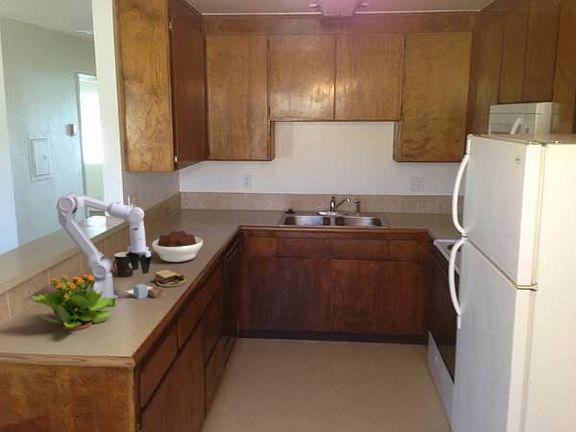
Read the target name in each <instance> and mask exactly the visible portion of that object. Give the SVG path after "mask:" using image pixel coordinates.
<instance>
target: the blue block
mask: <svg viewBox="0 0 576 432" xmlns="http://www.w3.org/2000/svg"><path fill="white" fill-rule="evenodd" d="M147 286H148V285H146V284H143V283H140V284H136V285H133V286H132V288H133V292H134V294H133V297H134V298H137V299H139V300H140V299H143V298H147V297H149V296H148V290H147Z"/></svg>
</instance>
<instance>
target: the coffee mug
mask: <svg viewBox="0 0 576 432" xmlns="http://www.w3.org/2000/svg"><path fill="white" fill-rule="evenodd" d="M127 253H129V252H128V251H121V252H120V251H119V252H117V253H114V261H112V264H113V267H112V268H113V269H114V270H115V271H116V272H117V277H119V278H123V279H124V278H125V279H126V278H130V277H133V276H134V270H133V269H132V266H131V263H130V261H129V259H128V257H127V256H126V254H127ZM115 265H116V266H115Z"/></svg>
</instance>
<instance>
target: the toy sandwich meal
mask: <svg viewBox="0 0 576 432" xmlns="http://www.w3.org/2000/svg"><path fill="white" fill-rule="evenodd" d="M185 277H186V275H185V274H183V273H182V274H179V273H177V272H175V271H170V270H169V269H164V270H160V271H157V272H155V276H154V278H153V281H156V284H157V285H158V287H162V288H174V286H176V287H180V286H182V285H184V284H185V283H186V281H187V279H186V278H185ZM179 285H180V286H179Z"/></svg>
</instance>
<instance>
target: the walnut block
mask: <svg viewBox="0 0 576 432" xmlns="http://www.w3.org/2000/svg"><path fill="white" fill-rule="evenodd" d="M166 296H167V293H166V288H165V287H162V286H155V287H152V288H151V289H148V297H149V298H150V297H151V298H152V299H154V300H155V299H158V298H162V297H166Z"/></svg>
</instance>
